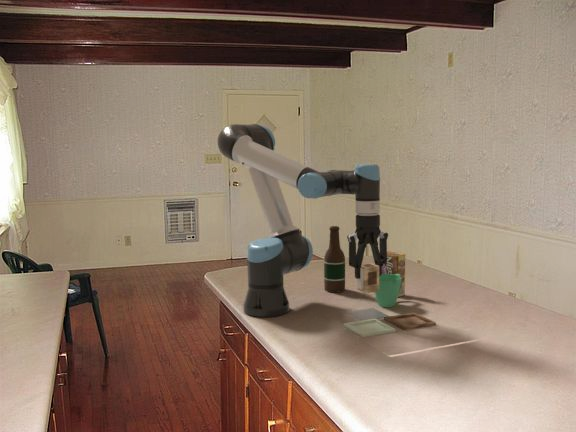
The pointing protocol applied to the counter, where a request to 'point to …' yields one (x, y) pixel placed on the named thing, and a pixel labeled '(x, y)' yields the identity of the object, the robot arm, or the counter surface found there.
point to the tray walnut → (409, 321)
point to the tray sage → (369, 327)
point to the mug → (388, 289)
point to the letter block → (370, 278)
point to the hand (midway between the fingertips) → (368, 287)
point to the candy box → (395, 267)
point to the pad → (367, 314)
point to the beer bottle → (334, 264)
